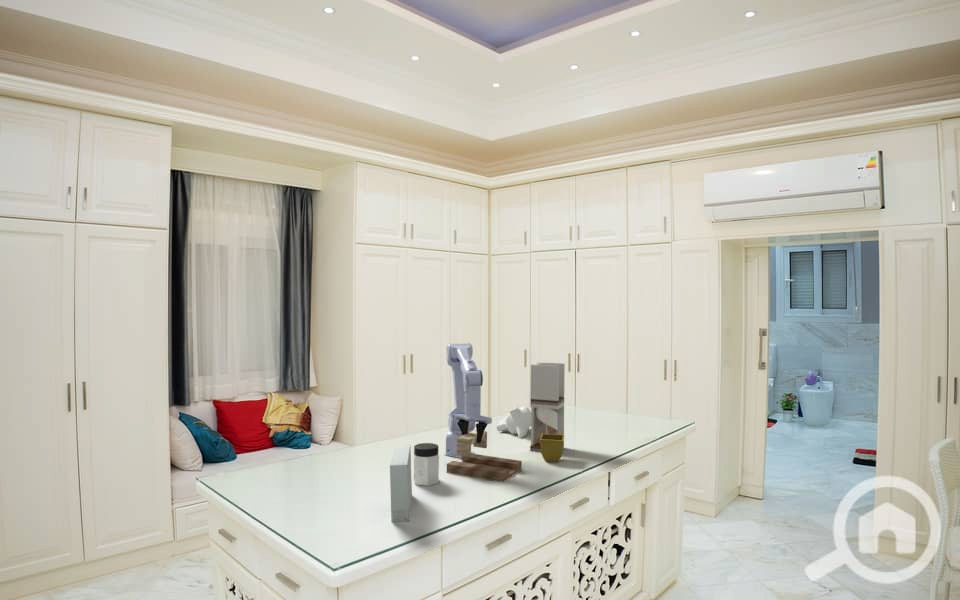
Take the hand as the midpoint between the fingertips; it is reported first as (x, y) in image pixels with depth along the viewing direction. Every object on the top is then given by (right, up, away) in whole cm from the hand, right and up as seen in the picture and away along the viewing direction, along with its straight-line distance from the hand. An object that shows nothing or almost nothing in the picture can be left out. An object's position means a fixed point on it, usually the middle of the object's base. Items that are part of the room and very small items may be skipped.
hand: (472, 441), depth 200 cm
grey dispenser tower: (+30, -10, +27) cm, 42 cm away
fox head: (+19, -10, +55) cm, 59 cm away
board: (+4, -10, -2) cm, 11 cm away
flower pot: (+30, -10, +12) cm, 34 cm away
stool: (0, -4, 0) cm, 3 cm away
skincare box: (-20, -10, -38) cm, 44 cm away
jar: (-15, -10, -15) cm, 23 cm away
